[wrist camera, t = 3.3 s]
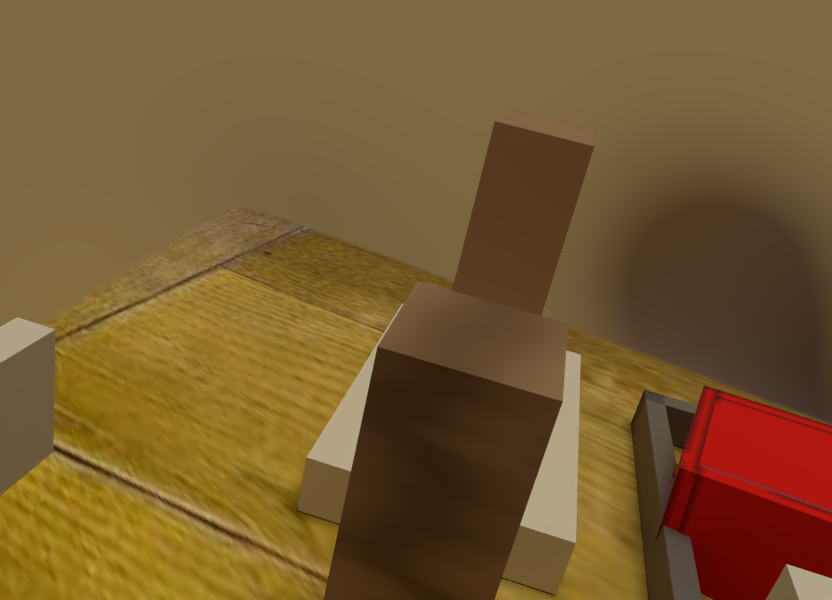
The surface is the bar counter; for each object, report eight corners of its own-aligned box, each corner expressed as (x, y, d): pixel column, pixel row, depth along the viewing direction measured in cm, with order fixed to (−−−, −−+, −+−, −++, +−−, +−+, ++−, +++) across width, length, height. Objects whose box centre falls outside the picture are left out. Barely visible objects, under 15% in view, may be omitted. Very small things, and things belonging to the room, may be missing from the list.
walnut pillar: (465, 632, 29) (567, 323, 23) (442, 748, 24) (562, 401, 19) (346, 591, 30) (417, 280, 24) (302, 698, 25) (377, 346, 19)
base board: (566, 393, 48) (654, 141, 41) (555, 594, 32) (697, 233, 25) (393, 342, 49) (449, 90, 42) (297, 510, 33) (362, 144, 26)
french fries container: (668, 483, 43) (943, 586, 38) (637, 580, 35) (978, 726, 30) (701, 379, 40) (1004, 474, 35) (676, 459, 32) (1059, 596, 27)
